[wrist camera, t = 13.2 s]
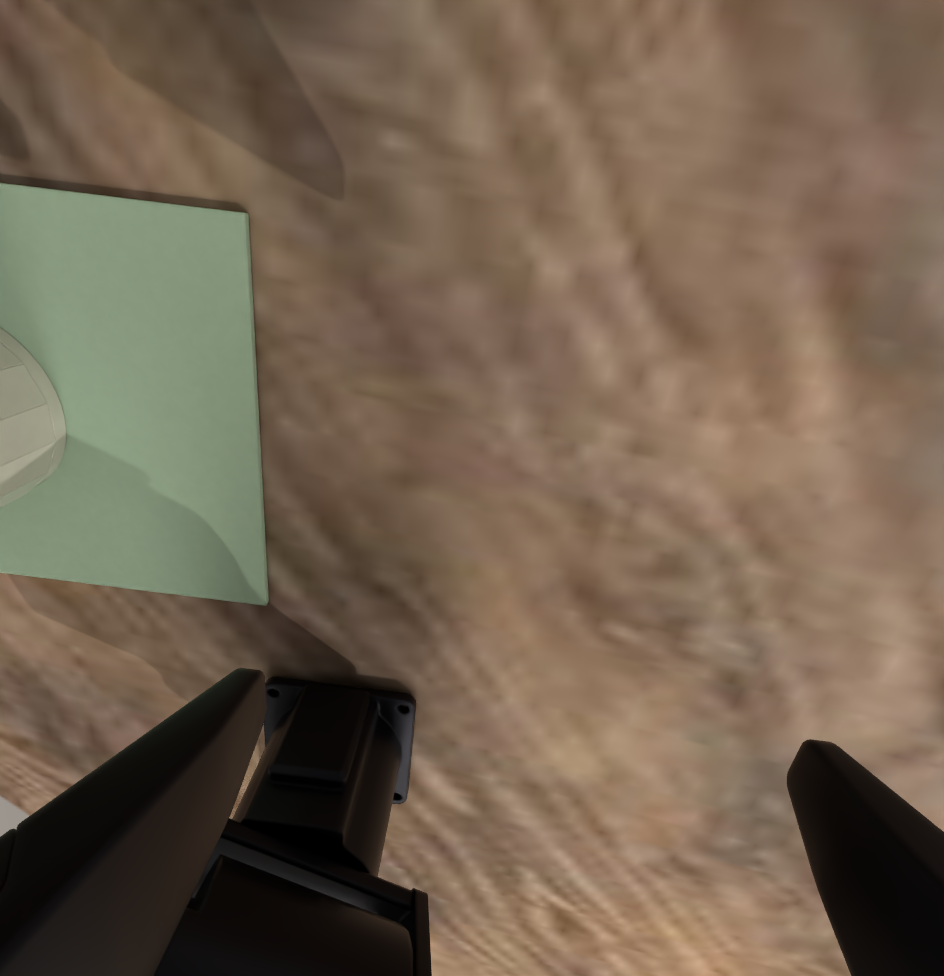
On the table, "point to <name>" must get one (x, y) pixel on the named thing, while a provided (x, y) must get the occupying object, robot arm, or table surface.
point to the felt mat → (138, 393)
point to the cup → (26, 422)
